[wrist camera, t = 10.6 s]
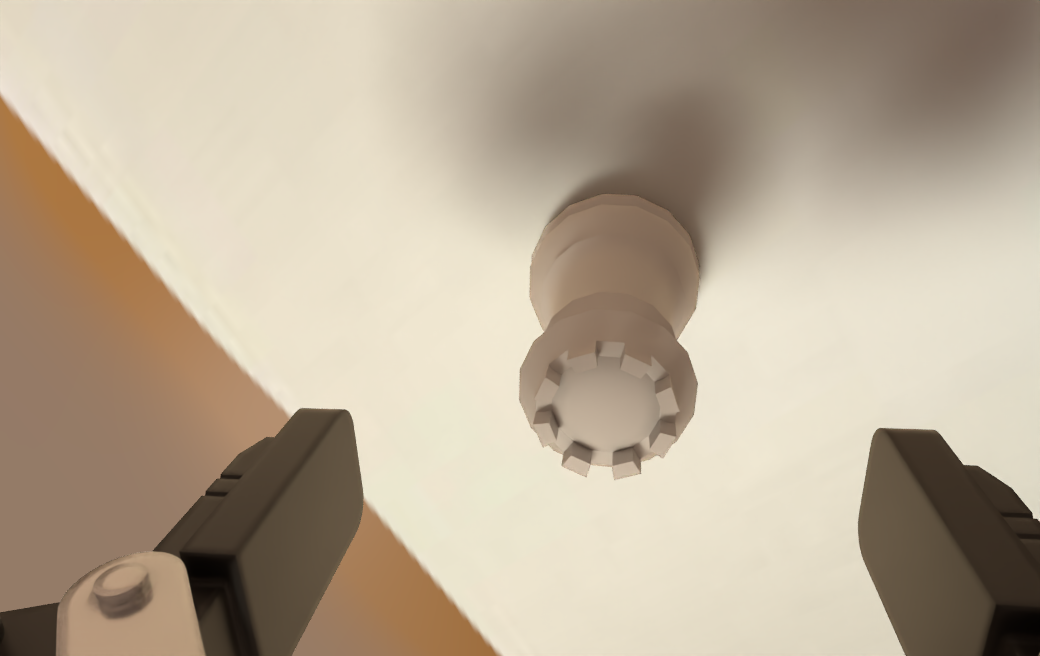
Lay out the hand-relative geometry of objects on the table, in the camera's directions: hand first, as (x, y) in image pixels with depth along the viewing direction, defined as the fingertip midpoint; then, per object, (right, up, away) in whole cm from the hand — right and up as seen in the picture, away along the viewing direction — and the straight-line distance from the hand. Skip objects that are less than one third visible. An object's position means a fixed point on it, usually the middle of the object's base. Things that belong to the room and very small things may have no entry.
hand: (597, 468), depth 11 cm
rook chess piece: (+1, +4, +9) cm, 10 cm away
